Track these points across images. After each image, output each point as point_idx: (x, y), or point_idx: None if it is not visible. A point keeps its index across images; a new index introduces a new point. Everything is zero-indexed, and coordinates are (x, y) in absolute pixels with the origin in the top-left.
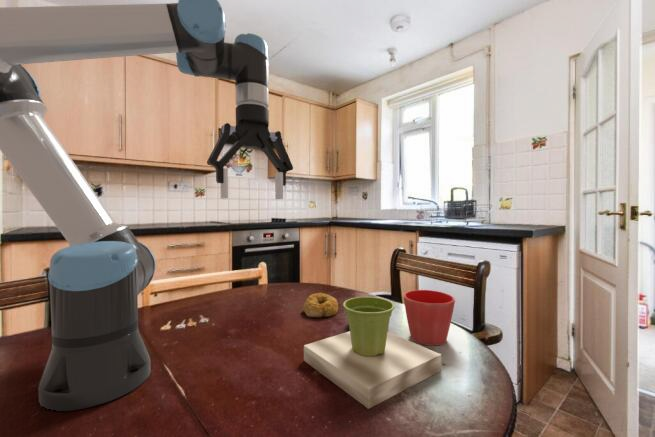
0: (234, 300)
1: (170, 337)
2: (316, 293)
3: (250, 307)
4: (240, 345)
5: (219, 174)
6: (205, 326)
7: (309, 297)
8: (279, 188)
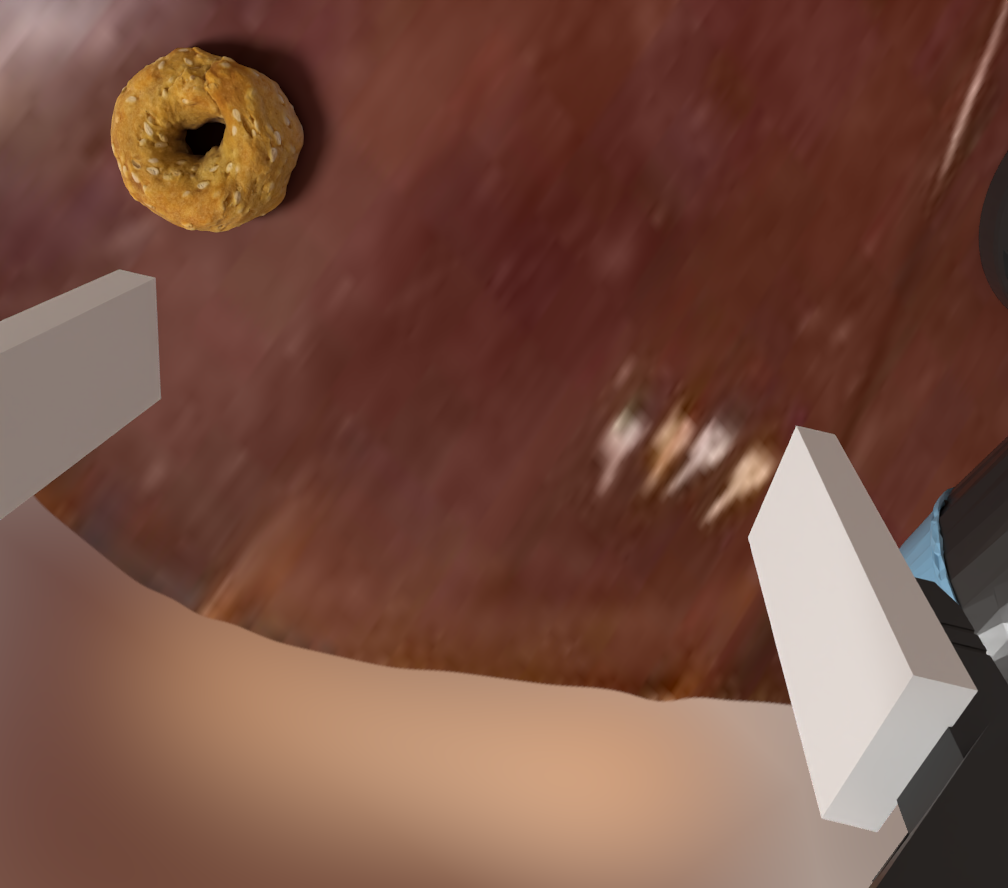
0: (421, 537)
1: (796, 374)
2: (171, 205)
3: (419, 422)
4: (683, 101)
5: (976, 660)
6: (658, 374)
7: (224, 201)
8: (73, 344)
